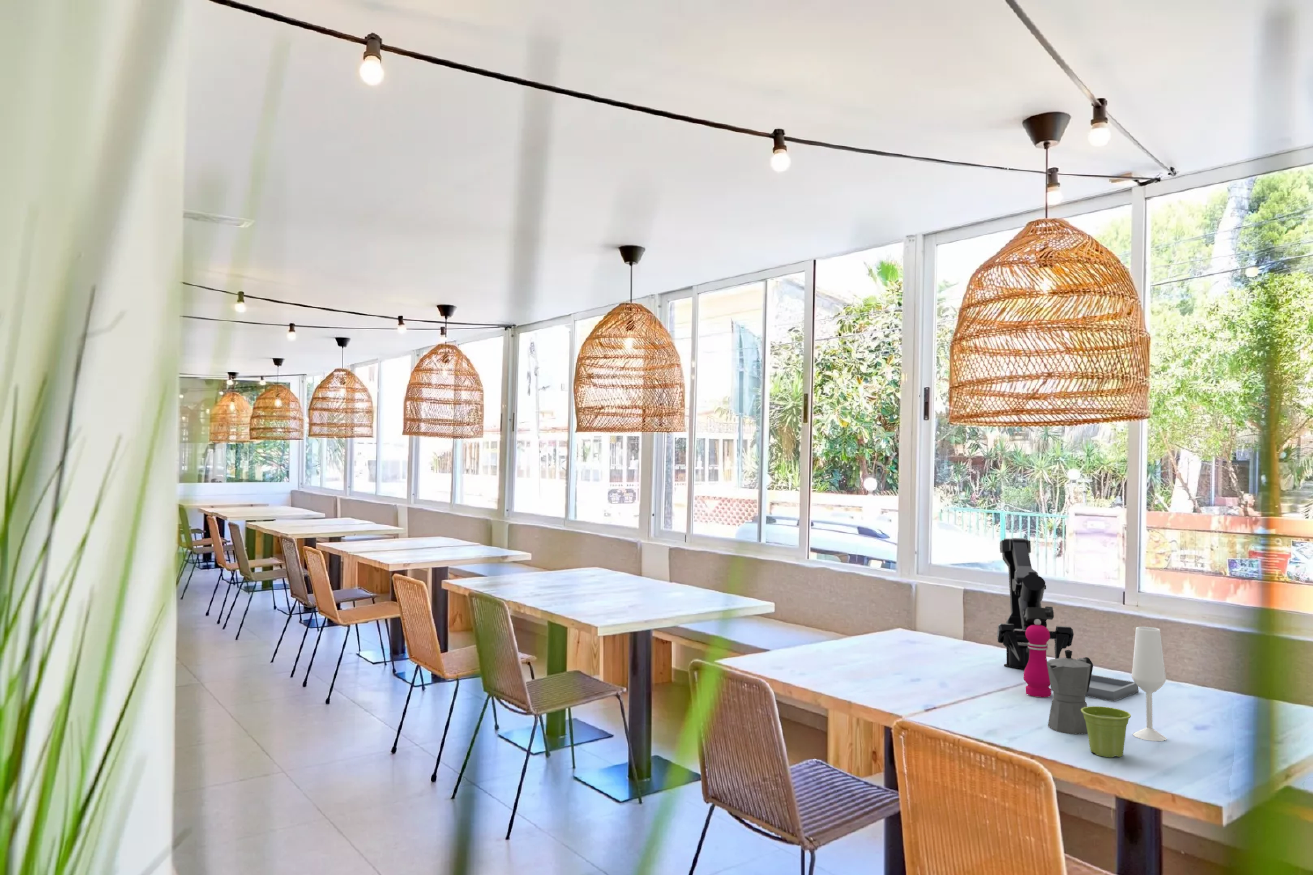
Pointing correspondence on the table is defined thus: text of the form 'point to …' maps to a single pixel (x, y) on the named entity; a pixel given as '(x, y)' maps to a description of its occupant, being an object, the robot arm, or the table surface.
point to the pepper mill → (1037, 661)
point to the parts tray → (1110, 688)
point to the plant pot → (1106, 730)
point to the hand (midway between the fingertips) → (1038, 661)
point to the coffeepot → (1069, 693)
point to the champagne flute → (1148, 673)
